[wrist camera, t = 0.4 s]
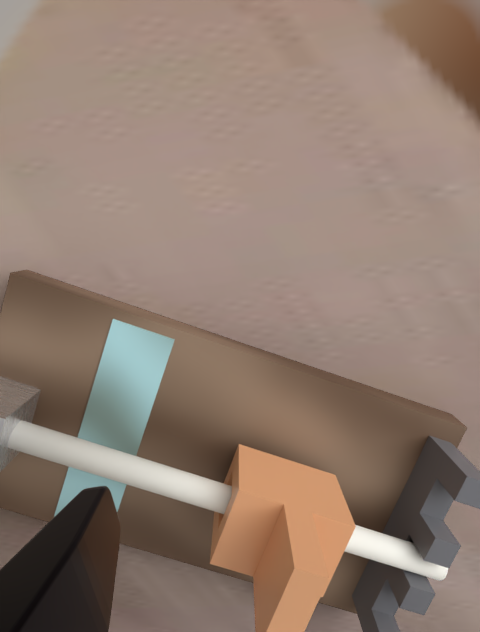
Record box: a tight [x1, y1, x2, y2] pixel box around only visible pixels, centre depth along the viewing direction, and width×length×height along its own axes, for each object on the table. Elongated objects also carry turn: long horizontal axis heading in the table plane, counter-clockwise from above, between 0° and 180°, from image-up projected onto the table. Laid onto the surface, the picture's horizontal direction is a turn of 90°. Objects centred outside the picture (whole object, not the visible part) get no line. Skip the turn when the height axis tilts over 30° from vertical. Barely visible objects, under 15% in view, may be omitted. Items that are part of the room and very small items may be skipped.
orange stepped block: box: [210, 444, 356, 632], centre depth 17 cm, size 4×5×7 cm
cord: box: [8, 420, 448, 581], centre depth 19 cm, size 1×20×1 cm, turn 71°
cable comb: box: [352, 435, 480, 632], centre depth 20 cm, size 10×1×4 cm, turn 161°
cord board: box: [0, 270, 467, 614], centre depth 22 cm, size 12×23×2 cm, turn 71°
